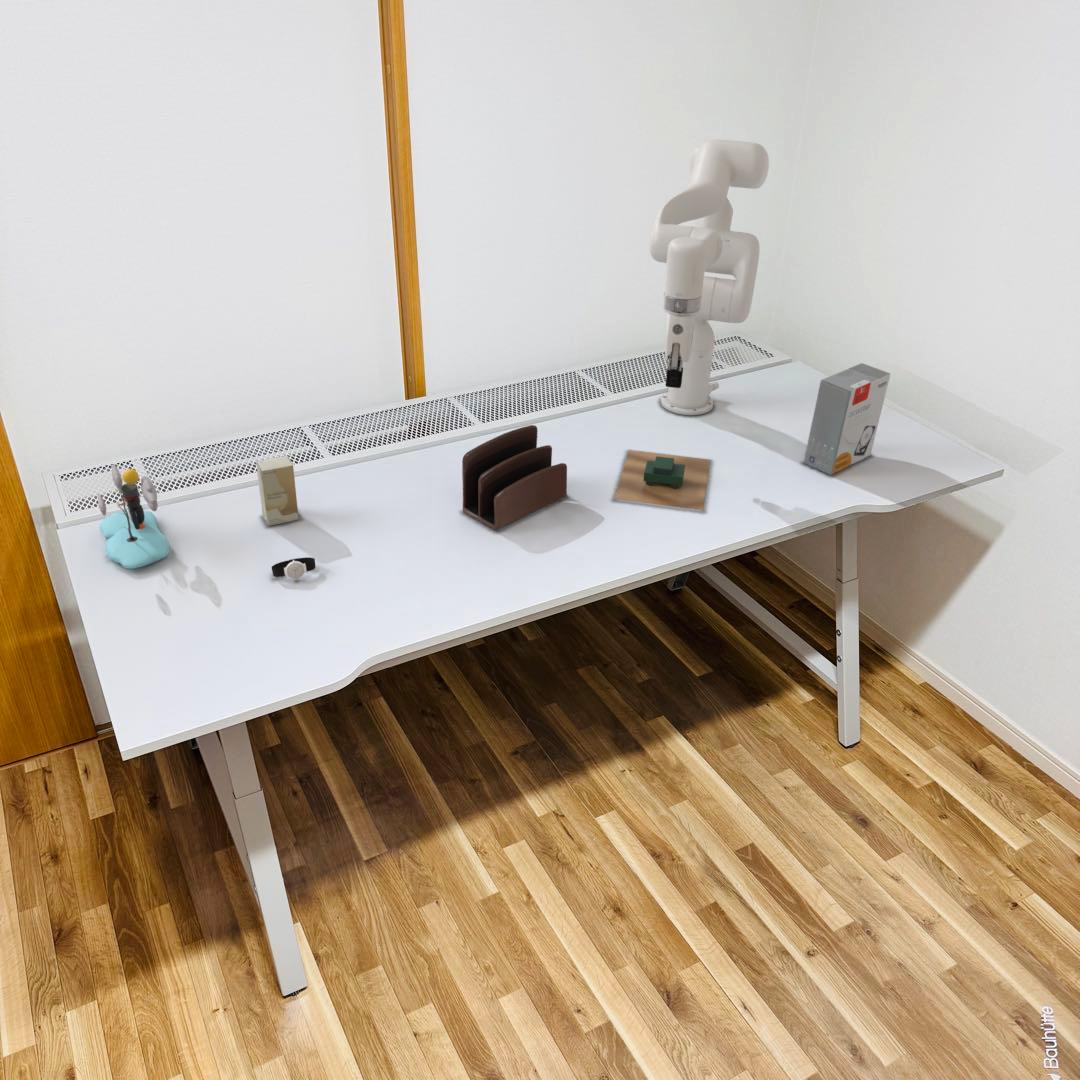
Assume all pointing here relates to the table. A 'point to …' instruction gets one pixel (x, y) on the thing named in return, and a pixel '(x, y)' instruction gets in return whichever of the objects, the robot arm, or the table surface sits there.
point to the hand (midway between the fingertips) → (673, 385)
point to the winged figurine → (133, 524)
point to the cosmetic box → (277, 490)
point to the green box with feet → (664, 472)
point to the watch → (293, 567)
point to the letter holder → (510, 478)
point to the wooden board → (660, 493)
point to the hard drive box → (846, 418)
